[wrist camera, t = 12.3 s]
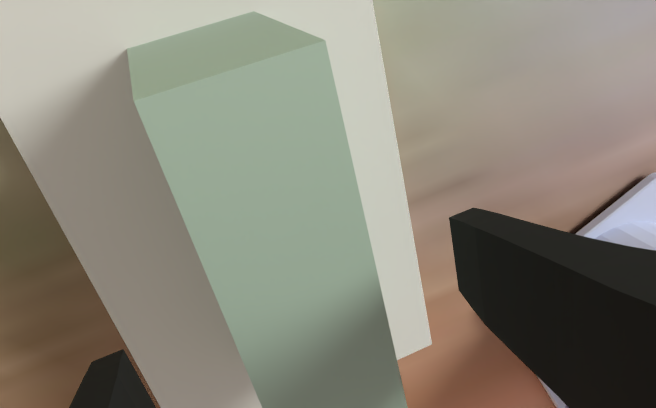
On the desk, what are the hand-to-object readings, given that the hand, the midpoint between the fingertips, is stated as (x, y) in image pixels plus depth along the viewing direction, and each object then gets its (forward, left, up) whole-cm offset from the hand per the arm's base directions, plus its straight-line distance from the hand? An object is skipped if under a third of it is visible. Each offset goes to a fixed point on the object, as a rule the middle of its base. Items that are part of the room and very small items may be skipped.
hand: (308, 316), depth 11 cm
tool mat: (0, 0, -5) cm, 5 cm away
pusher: (0, 0, -4) cm, 4 cm away
